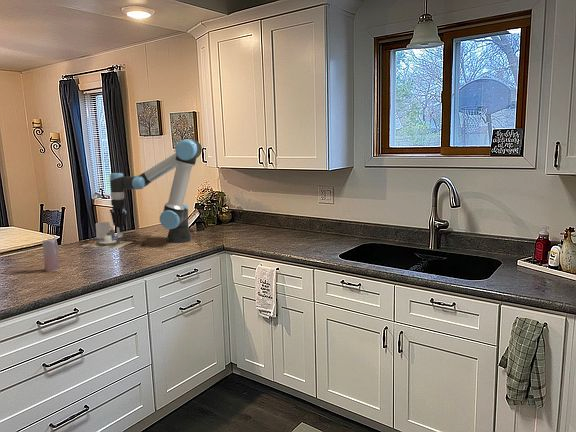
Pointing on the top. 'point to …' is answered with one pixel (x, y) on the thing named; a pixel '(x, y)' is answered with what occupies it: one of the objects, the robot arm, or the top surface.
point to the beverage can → (50, 255)
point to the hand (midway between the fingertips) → (120, 237)
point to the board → (122, 243)
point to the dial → (109, 237)
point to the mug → (102, 229)
